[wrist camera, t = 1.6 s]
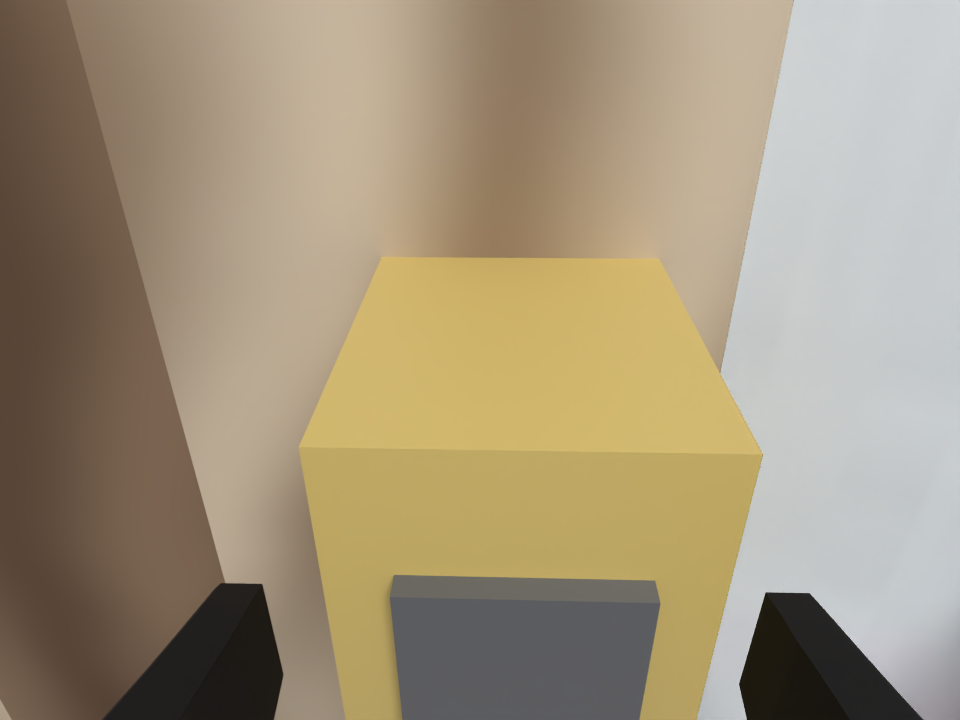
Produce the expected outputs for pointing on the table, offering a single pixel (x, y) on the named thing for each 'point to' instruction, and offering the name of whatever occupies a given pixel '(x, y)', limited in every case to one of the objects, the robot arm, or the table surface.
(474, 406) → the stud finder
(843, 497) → the table surface
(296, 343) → the subfloor board
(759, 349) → the table surface
